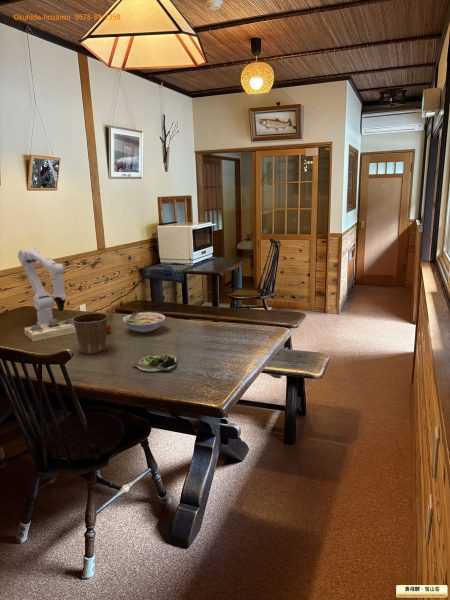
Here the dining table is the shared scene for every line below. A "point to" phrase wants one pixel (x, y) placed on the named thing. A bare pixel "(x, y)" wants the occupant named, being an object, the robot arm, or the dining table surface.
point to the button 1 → (36, 327)
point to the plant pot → (91, 332)
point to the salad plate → (156, 363)
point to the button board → (50, 331)
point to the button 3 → (69, 321)
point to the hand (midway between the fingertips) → (61, 310)
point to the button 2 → (53, 323)
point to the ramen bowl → (144, 321)
